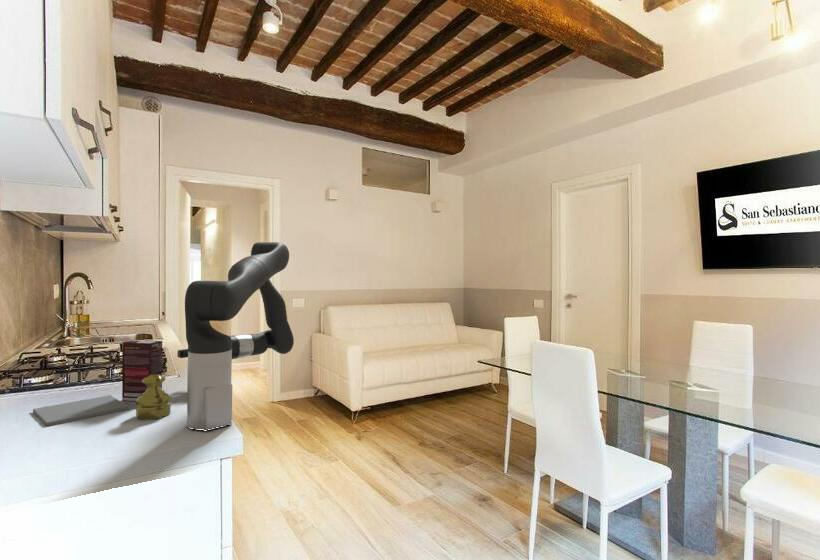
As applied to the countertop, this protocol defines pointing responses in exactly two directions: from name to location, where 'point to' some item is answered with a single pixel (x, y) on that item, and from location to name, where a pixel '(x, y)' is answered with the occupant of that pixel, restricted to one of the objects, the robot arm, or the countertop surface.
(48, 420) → the rubber mat
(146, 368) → the supplement box
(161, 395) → the brass knobbed piece
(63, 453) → the countertop surface
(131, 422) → the countertop surface
